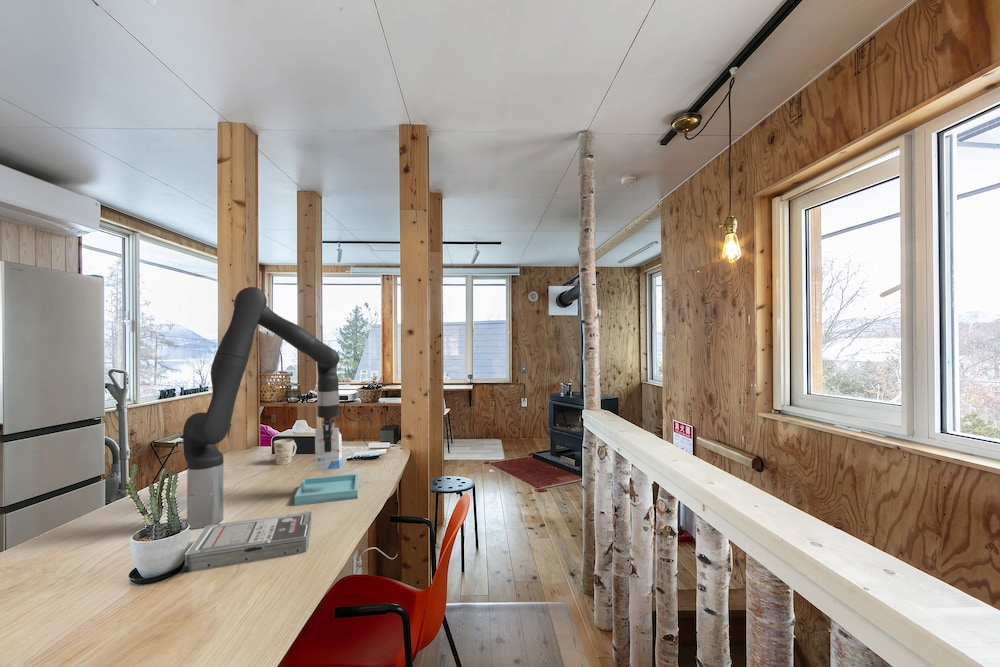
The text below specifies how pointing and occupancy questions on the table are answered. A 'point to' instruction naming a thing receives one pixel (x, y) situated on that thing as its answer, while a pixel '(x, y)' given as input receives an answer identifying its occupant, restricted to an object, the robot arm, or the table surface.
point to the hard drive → (249, 541)
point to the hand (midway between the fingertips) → (328, 449)
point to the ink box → (328, 458)
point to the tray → (327, 489)
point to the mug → (284, 451)
